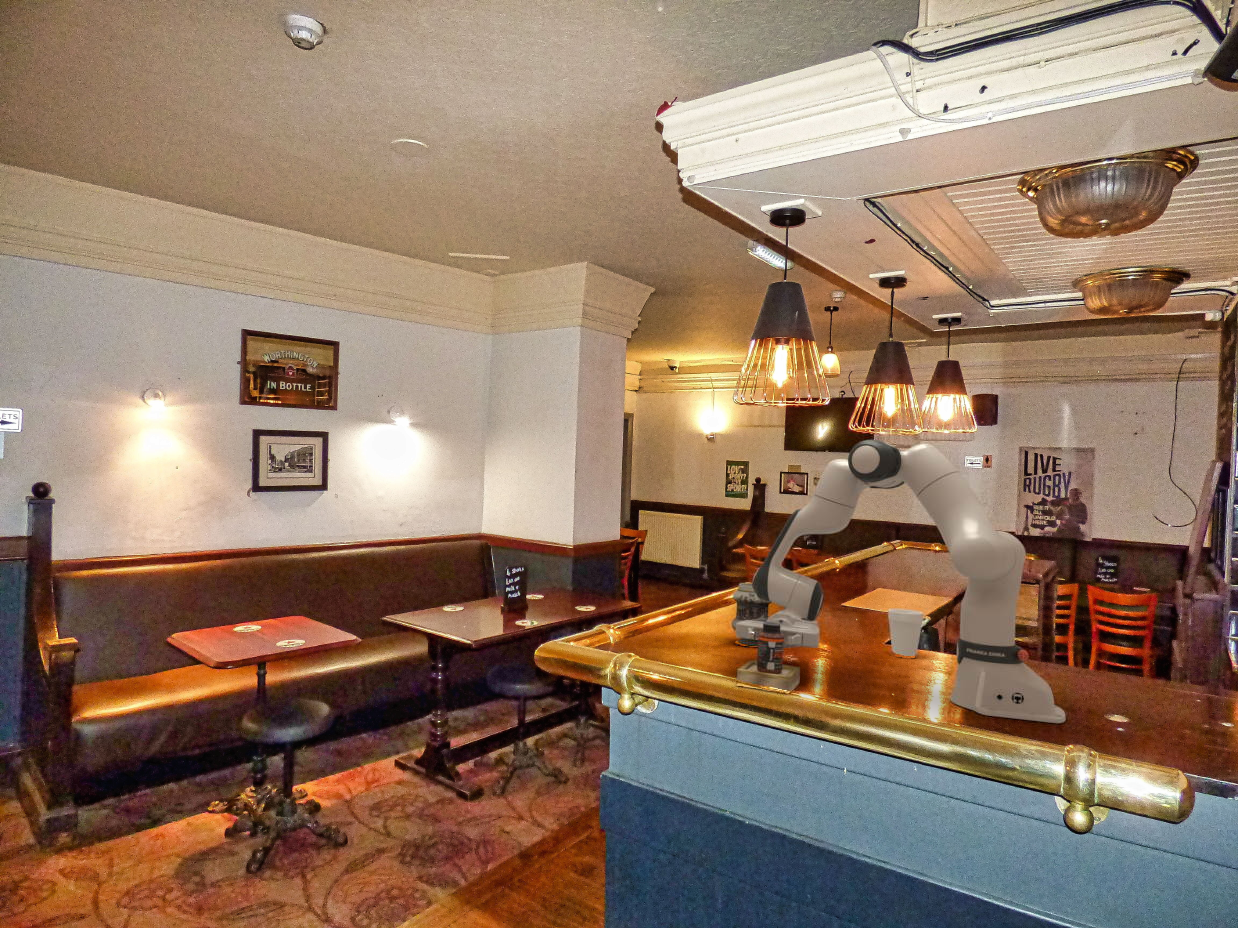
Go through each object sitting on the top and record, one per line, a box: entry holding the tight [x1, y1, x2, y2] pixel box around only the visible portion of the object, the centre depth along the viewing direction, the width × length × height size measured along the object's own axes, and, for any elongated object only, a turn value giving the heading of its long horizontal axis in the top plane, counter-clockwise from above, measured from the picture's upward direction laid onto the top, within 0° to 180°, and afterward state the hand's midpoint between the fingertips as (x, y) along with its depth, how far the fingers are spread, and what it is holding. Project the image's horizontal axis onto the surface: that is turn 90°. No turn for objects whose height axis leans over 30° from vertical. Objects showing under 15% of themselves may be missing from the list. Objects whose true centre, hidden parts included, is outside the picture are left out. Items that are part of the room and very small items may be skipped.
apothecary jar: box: [731, 582, 773, 646], centre depth 219 cm, size 12×12×18 cm
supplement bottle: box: [756, 622, 784, 674], centre depth 173 cm, size 6×6×11 cm
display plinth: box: [736, 659, 801, 692], centre depth 173 cm, size 12×12×4 cm
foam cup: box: [887, 608, 924, 656], centre depth 213 cm, size 10×9×13 cm
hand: (770, 638), depth 173 cm, fingers open, 8 cm apart
